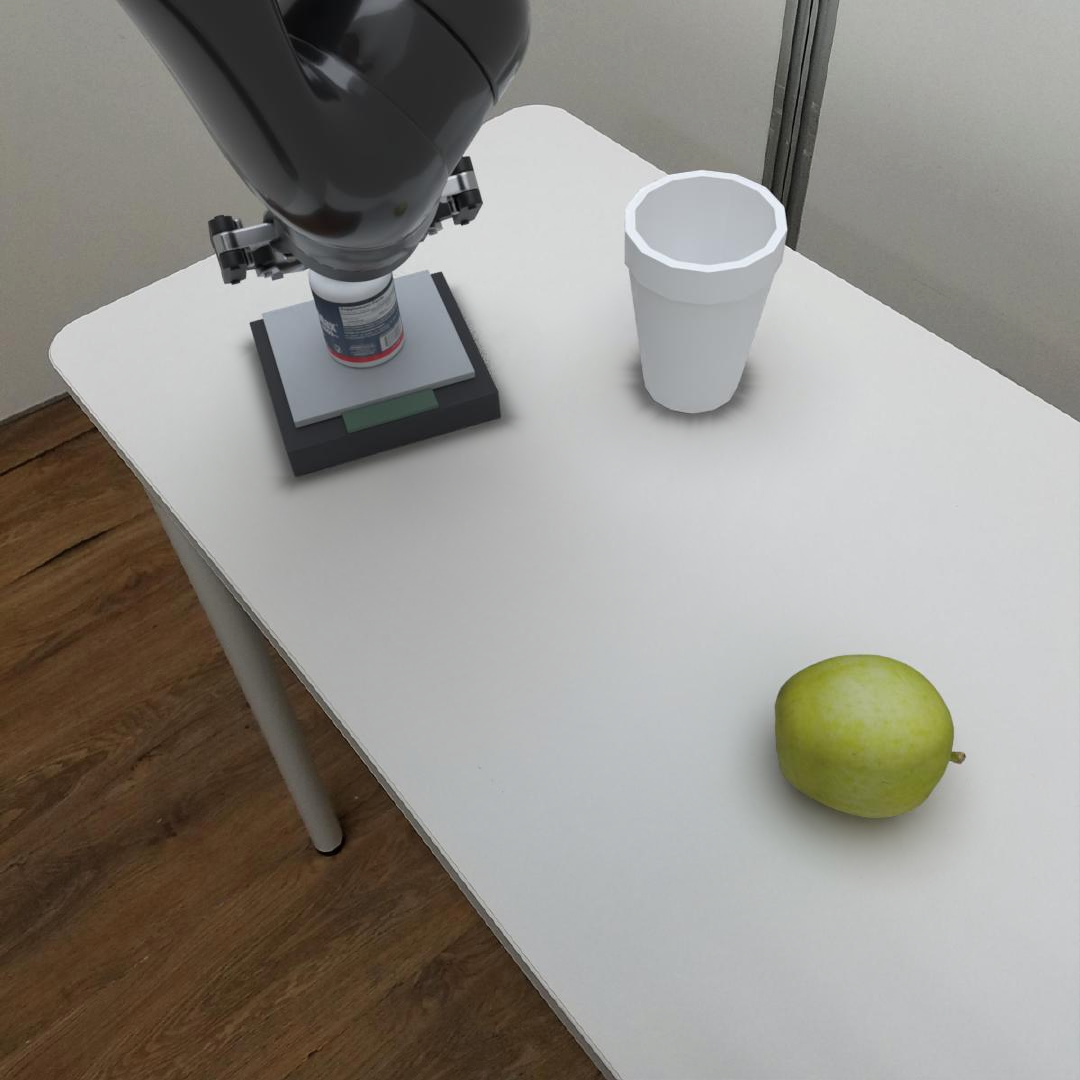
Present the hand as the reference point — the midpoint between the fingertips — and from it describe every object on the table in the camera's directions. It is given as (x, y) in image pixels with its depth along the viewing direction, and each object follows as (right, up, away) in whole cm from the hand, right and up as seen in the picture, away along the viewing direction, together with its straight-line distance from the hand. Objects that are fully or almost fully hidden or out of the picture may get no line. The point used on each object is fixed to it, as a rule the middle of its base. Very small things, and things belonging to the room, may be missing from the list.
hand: (342, 243), depth 65 cm
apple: (+28, -30, -8) cm, 42 cm away
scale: (0, -7, +10) cm, 12 cm away
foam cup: (+22, -7, +9) cm, 25 cm away
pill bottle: (0, -4, +8) cm, 9 cm away
